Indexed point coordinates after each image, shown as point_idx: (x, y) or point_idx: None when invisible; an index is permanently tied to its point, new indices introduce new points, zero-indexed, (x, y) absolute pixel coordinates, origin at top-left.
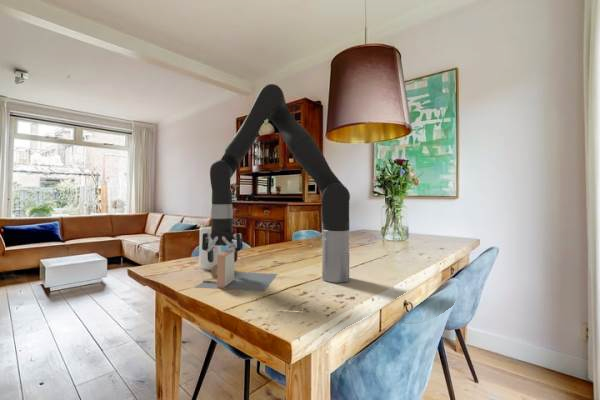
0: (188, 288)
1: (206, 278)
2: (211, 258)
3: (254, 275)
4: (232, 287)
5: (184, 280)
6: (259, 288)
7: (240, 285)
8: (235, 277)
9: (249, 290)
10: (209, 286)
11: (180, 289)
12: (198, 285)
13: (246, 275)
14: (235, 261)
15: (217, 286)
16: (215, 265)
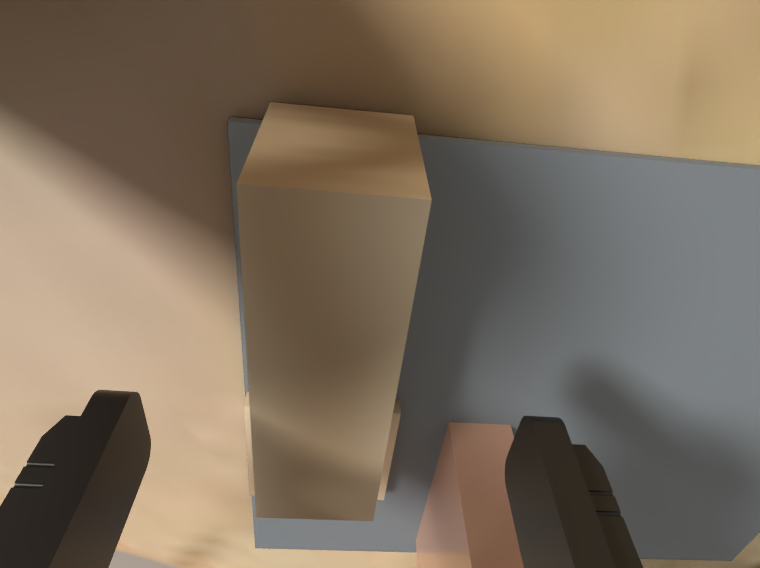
0: (214, 543)
1: (249, 454)
2: (125, 492)
3: (746, 280)
4: None
5: (31, 429)
6: (713, 534)
7: None
8: (517, 358)
9: (640, 556)
10: (352, 532)
11: (174, 556)
12: (260, 525)
13: (644, 288)
14: (554, 430)
15: (417, 548)
16: (268, 470)
